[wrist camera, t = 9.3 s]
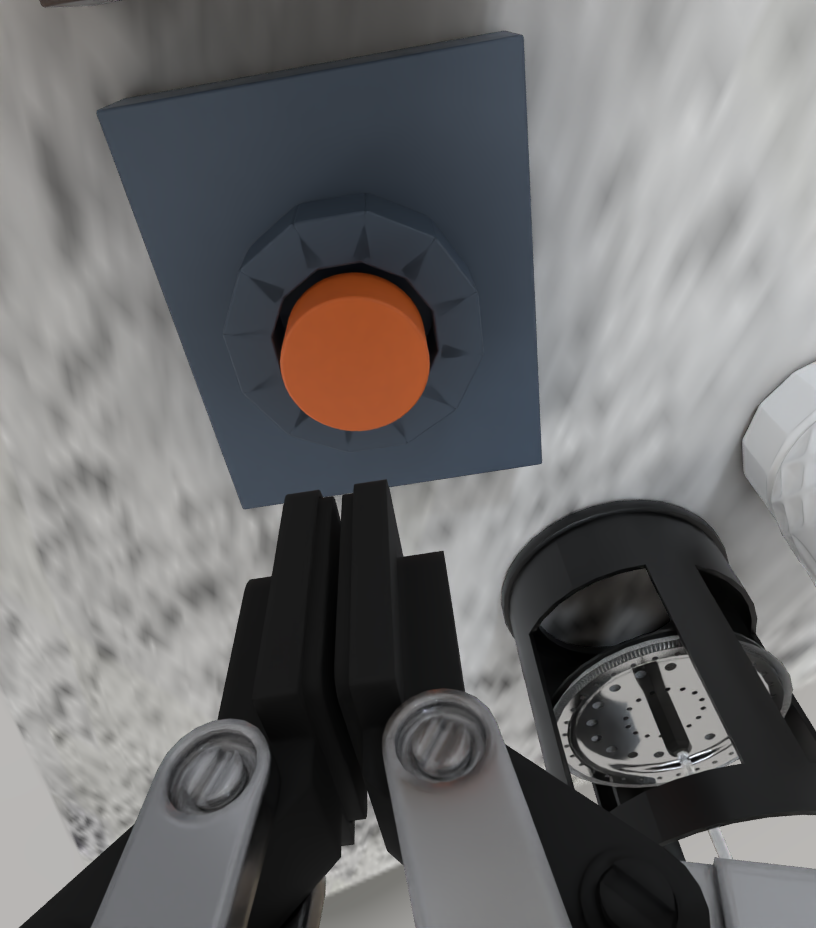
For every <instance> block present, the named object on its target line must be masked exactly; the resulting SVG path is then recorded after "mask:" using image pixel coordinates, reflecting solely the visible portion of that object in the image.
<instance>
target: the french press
mask: <svg viewBox="0 0 816 928" xmlns="http://www.w3.org/2000/svg"><path fill="white" fill-rule="evenodd" d="M643 568H645V569H646V571H647V573H648V575H649V577H650V579H651V581H652V583H653V585H654V587H655V589H656V591H657V593H658V595H659V597H660V599H661V601H662V603H663V605H664V607H665V609H666V611H667V613H668V616H669V618H670V620H671V621H670V622H669V623H667V624H666V625H664V626H663V627H661V628H660V629H658V630H657V631H655V632H653V633H649V634H645V635H642V636H639V637H636V638H633V639H630V640H628V641H625V642H622V643H620V644H618V645H615V646H609V647H582V646H577V645H573V644H568V643H566V642H563V641H561V640H558V639H556V638H555V637H553V636H552V635H550V634H549V633H547V632H546V631H545V630H544V629H543V628H542V627H541V625H540V624H541V622H542V621H543V619H544V618H545V617H546V616H547V615H548V614H549V613H550V612H552V611H553V610H554V609H555V608H556V607H557V606H558V605H559V604H560V603H562V602H563V601H564V600H566V599H567V598H569V597H570V596H571V595H573V594H574V593H576V592H577V591H579V590H581V589H583V588H585V587H587V586H589V585H591V584H593V583H595V582H597V581H600V580H603V579H605V578H608V577H611V576H614V575H617V574H620V573H624V572H628V571H633V570H638V569H643ZM501 605H502V609H503V614H504V618H505V623H506V625H507V627H508V629H509V631H510V632H511V634H512V636H513V637H514V639H515V642H516V646H517V650H518V655H519V659H520V663H521V667H522V672H523V676H524V679H525V683H526V687H527V691H528V696H529V700H530V704H531V708H532V713H533V717H534V721H535V725H536V729H537V734H538V738H539V742H540V746H541V750H542V755H543V759H544V763H545V767H546V771H547V772H548V773H550V774H551V775H553V776H554V777H556V778H558V779H559V780H561V781H562V782H564V783H565V784H567V785H568V786H570V787H571V788H573V789H574V785H573V782H572V778H571V774H570V773H572V774H574V775H575V776H577V777H579V778H581V779H584V780H587V781H590V782H592V784H593V788H594V791H595V795H596V798H597V802H598V805H599V806H600V807H602V808H603V809H605V810H607V811H608V812H610V813H611V814H613V815H614V816H616V817H617V818H619V819H620V820H622V821H623V822H625V823H626V824H628V825H630V826H631V827H633V828H634V829H636V830H637V831H639V832H640V833H642V834H643V835H645V836H646V837H648V838H649V839H651V840H652V841H654V842H656V843H657V844H659V845H660V846H662V847H663V848H665V849H666V850H668V851H669V852H670V853H671V854H672V855H673V856H675V857H676V858H677V859H678V860H679V861H685V862H686V860H685V858H684V855H683V852H682V850H681V847H680V844H679V842H678V840H680V839H683V838H685V837H688V836H691V835H693V834H696V833H699V832H703V831H706V830H708V832H709V835H710V837H711V839H712V842H713V844H714V847H715V849H716V852H717V854H718V857H719V858H724V859H733V858H732V856H731V854H730V851H729V849H728V846H727V844H726V842H725V839H724V837H723V835H722V832H721V830H720V828H719V827H721V826H725V825H729V824H732V823H738V822H744V821H750V820H756V819H762V818H767V817H779V816H792V815H816V731H815V729H814V728H813V726H812V724H811V723H810V721H809V719H808V718H807V716H806V714H805V713H804V711H803V710H802V708H801V706H800V705H799V703H798V702H797V700H796V698H795V697H794V695H793V693H792V691H793V688H792V683H791V678H790V675H789V673H788V672H787V670H786V668H785V667H784V665H783V664H782V662H780V661H779V660H778V659H777V658H776V657H774V656H773V655H772V654H771V653H770V652H768V651H766V650H765V648H764V646H763V645H762V643H761V642H760V640H759V638H758V637H757V635H756V624H757V616H756V612H755V607H754V603H753V602H752V600H751V598H750V597H749V595H748V594H747V592H746V590H745V589H744V587H743V586H742V584H741V583H740V581H739V579H738V578H737V576H736V575H735V573H734V572H733V570H732V569H731V567H730V565H729V563H728V559H727V555H726V551H725V548H724V546H723V544H722V543H721V541H720V539H719V538H718V536H717V534H716V533H715V531H714V530H713V529H712V528H711V527H710V526H709V525H708V524H707V523H706V522H705V521H703V520H702V519H701V518H700V517H698V516H696V515H695V514H693V513H691V512H689V511H687V510H685V509H683V508H681V507H678V506H674V505H671V504H667V503H664V502H656V501H646V500H631V501H616V502H611V503H607V504H602V505H597V506H593V507H590V508H587V509H585V510H582V511H579V512H577V513H574V514H571V515H569V516H567V517H565V518H563V519H562V520H560V521H558V522H556V523H554V524H553V525H551V526H549V527H548V528H546V529H545V530H544V531H543V532H541V533H540V534H539V535H537V536H536V537H535V538H534V539H532V540H531V541H530V542H529V543H528V544H527V546H526V547H525V548H524V549H523V550H522V551H521V552H520V553H519V554H518V555H517V557H516V559H515V560H514V562H513V564H512V565H511V567H510V569H509V570H508V573H507V576H506V579H505V582H504V585H503V588H502V603H501ZM738 759H740V761H741V763H742V764H737V765H731V766H727V765H729V764H730V763H732V762H734V761H736V760H738ZM725 766H726V767H725ZM574 790H575V789H574Z"/></svg>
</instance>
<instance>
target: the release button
mask: <svg viewBox="0 0 816 928" xmlns="http://www.w3.org/2000/svg"><path fill="white" fill-rule="evenodd" d="M280 368H281V374H282V379H283V382H284V385H285V387H286V389H287V391H288V393H289V395H290V396H291V398H292V399H293V401H294V402H295V403H296V404H297V405H298V406H299V408H300V409H301V410H302V411H304V412H305V413H306V414H307V415H308V416H310V417H311V418H313V419H314V420H316V421H318V422H320V423H322V424H324V425H327V426H329V427H332V428H336V429H340V430H347V431H366V430H372V429H377V428H380V427H383V426H386V425H388V424H390V423H392V422H394V421H396V420H397V419H399V418H401V417H402V416H403V415H405V414H406V413H407V412H408V411H409V410H410V409H411V408H412V407H413V406H414V405H415V404H416V402H417V401H418V400H419V398H420V397H421V395H422V393H423V391H424V389H425V387H426V384H427V381H428V376H429V370H430V359H429V351H428V346H427V340H426V335H425V330H424V325H423V321H422V318H421V315H420V313H419V311H418V309H417V307H416V305H415V304H414V302H413V301H412V300H411V298H410V297H409V296H408V295H407V294H406V293H405V292H404V291H403V290H402V289H400V288H399V287H398V286H397V285H395V284H393V283H392V282H390V281H388V280H386V279H384V278H382V277H379V276H376V275H372V274H367V273H358V272H350V273H341V274H337V275H333V276H330V277H327V278H325V279H323V280H321V281H319V282H317V283H315V284H314V285H313V286H311V287H310V288H309V289H307V290H306V291H305V292H304V293H303V294H302V295H301V297H300V298H299V299H298V300H297V302H296V303H295V305H294V307H293V309H292V311H291V313H290V316H289V319H288V323H287V328H286V332H285V336H284V341H283V345H282V349H281V356H280Z"/></svg>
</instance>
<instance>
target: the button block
mask: <svg viewBox="0 0 816 928" xmlns="http://www.w3.org/2000/svg"><path fill="white" fill-rule="evenodd" d="M97 116H98V119H99V122H100V124H101V127H102V130H103V132H104V135H105V138H106V141H107V143H108V146H109V149H110V151H111V154H112V157H113V159H114V162H115V165H116V168H117V170H118V173H119V176H120V178H121V181H122V184H123V186H124V189H125V192H126V195H127V197H128V200H129V203H130V205H131V208H132V211H133V213H134V216H135V219H136V222H137V224H138V227H139V230H140V232H141V235H142V238H143V240H144V243H145V246H146V249H147V251H148V254H149V257H150V259H151V262H152V265H153V267H154V270H155V273H156V276H157V278H158V281H159V284H160V286H161V289H162V292H163V295H164V297H165V300H166V303H167V305H168V308H169V311H170V313H171V316H172V319H173V322H174V324H175V327H176V330H177V332H178V335H179V338H180V340H181V343H182V346H183V349H184V351H185V354H186V357H187V359H188V362H189V365H190V367H191V370H192V373H193V376H194V378H195V381H196V384H197V386H198V389H199V392H200V394H201V397H202V400H203V403H204V405H205V408H206V411H207V413H208V416H209V419H210V421H211V424H212V427H213V430H214V432H215V435H216V438H217V440H218V443H219V446H220V448H221V451H222V454H223V457H224V459H225V462H226V465H227V467H228V470H229V473H230V475H231V478H232V481H233V484H234V486H235V489H236V492H237V494H238V497H239V500H240V502H241V505H242V508H243V509H250V508H257V507H263V506H270V505H276V504H283V503H284V499H285V496H286V495H287V494H293V493H300V492H306V491H313V490H320V491H321V493H322V496H323V497H328V496H335V495H342V494H348V493H353V488H354V484H358V483H365V482H371V481H378V480H384V479H387V481H388V485H389V487H394V486H400V485H407V484H413V483H420V482H426V481H433V480H440V479H446V478H453V477H459V476H466V475H472V474H479V473H485V472H492V471H498V470H505V469H511V468H518V467H525V466H531V465H538V464H541V463H542V450H541V427H540V404H539V381H538V357H537V334H536V311H535V288H534V265H533V242H532V219H531V195H530V172H529V149H528V126H527V103H526V80H525V56H524V37H523V35H520V34H516V33H512V32H508V31H500V32H495V33H489V34H484V35H478V36H472V37H467V38H461V39H456V40H450V41H444V42H439V43H433V44H428V45H422V46H416V47H411V48H405V49H400V50H394V51H388V52H383V53H377V54H372V55H366V56H360V57H355V58H349V59H344V60H338V61H332V62H327V63H321V64H316V65H310V66H304V67H299V68H293V69H288V70H282V71H276V72H271V73H265V74H260V75H254V76H248V77H243V78H237V79H232V80H226V81H220V82H215V83H209V84H204V85H198V86H192V87H187V88H181V89H176V90H170V91H164V92H159V93H153V94H148V95H142V96H136V97H131V98H125V99H122V100H120V101H118V102H115V103H113V104H110V105H108V106H106V107H103V108H101V109H99V110H97ZM350 272H358V273H367V274H372V275H376V276H379V277H382V278H384V279H386V280H388V281H390V282H392V283H393V284H395V285H397V286H398V287H399V288H400V289H402V290H403V291H404V292H405V293H406V294H407V295H408V296H409V297H410V298H411V300H412V301H413V302H414V304H415V305H416V307H417V309H418V311H419V313H420V315H421V318H422V321H423V325H424V330H425V335H426V340H427V346H428V351H429V359H430V370H429V376H428V381H427V384H426V387H425V389H424V391H423V393H422V395H421V397H420V398H419V400H418V401H417V402H416V404H415V405H414V406H413V407H412V408H411V409H410V410H409V411H408V412H407V413H406V414H405V415H403V416H402V417H401V418H399V419H397V420H396V421H394V422H392V423H390V424H388V425H386V426H383V427H380V428H377V429H372V430H366V431H347V430H340V429H336V428H332V427H329V426H327V425H324V424H322V423H320V422H318V421H316V420H314V419H313V418H311V417H310V416H308V415H307V414H306V413H305V412H304V411H302V410H301V409H300V408H299V406H298V405H297V404H296V403H295V402H294V401H293V399H292V398H291V396H290V395H289V393H288V391H287V389H286V387H285V385H284V382H283V379H282V374H281V368H280V356H281V349H282V345H283V341H284V336H285V332H286V328H287V323H288V319H289V316H290V313H291V311H292V309H293V307H294V305H295V303H296V302H297V300H298V299H299V298H300V297H301V295H302V294H303V293H304V292H305V291H306V290H307V289H309V288H310V287H311V286H313V285H314V284H315V283H317V282H319V281H321V280H323V279H325V278H327V277H330V276H333V275H337V274H341V273H350Z"/></svg>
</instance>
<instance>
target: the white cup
mask: <svg viewBox="0 0 816 928" xmlns="http://www.w3.org/2000/svg"><path fill="white" fill-rule="evenodd" d="M742 448H743V472H744V475H745V476H746V478H747V479H748V481H749V482H750V484H751V485H752V486H753V488H754V489H755V491H756V492H757V493H758V495H759V496H760V497H761V499H762V500H763V502H764V503H765V504H766V506H767V507H768V509H769V510H770V512H771V514H772V515H773V517H774V518H775V520H776V521H777V523H778V525H779V528H780V531H781V534H782V536H783V537H784V538H785V539H786V541H787V543H788V544H789V546H790V548H791V550H792V551H793V553H794V554H795V556H796V557H797V559H798V560H799V562H800V563H801V565H802V566H803V567H804V569H805V570H806V571H807V573H808V574H809V576H810V578H811V580H812V581H813V583H814V585H815V586H816V361H815V362H813V363H811V364H809V365H807V366H805V367H803V368H801V369H799V370H797V371H795V372H794V373H792V374H791V375H790V376H789V377H788V378H787V379H786V380H785V381H784V382H783V383H782V384H781V385H780V386H779V387H778V388H776V389H775V390H774V391H773V392H772V393H771V394H770V395H769V396H768V397H767V398H766V399H765V400H764V401H763V402H762V403H761V404H760V405H759V407H758V409H757V411H756V413H755V415H754V417H753V419H752V421H751V423H750V426H749V428H748V430H747V432H746V434H745V436H744V438H743V440H742Z"/></svg>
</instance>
